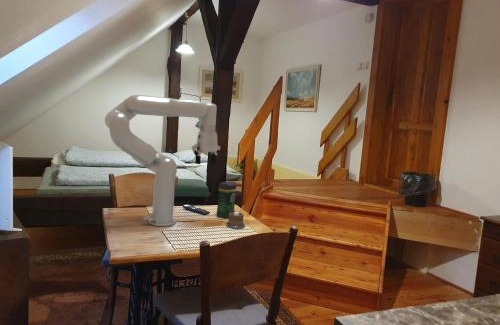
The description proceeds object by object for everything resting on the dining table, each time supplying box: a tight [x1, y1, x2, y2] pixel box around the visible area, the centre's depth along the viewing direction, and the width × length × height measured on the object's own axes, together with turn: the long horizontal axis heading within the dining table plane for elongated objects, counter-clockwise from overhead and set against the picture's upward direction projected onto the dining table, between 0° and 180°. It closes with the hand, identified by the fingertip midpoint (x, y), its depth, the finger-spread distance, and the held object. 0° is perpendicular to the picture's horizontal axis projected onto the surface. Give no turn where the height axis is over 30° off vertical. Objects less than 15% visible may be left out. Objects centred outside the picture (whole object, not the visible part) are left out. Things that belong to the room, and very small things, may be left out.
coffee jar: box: [216, 180, 237, 219], centre depth 188 cm, size 10×8×19 cm
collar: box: [227, 211, 245, 227], centre depth 172 cm, size 7×7×5 cm
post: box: [225, 210, 246, 230], centre depth 172 cm, size 9×9×7 cm
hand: (205, 163), depth 177 cm, fingers open, 9 cm apart
